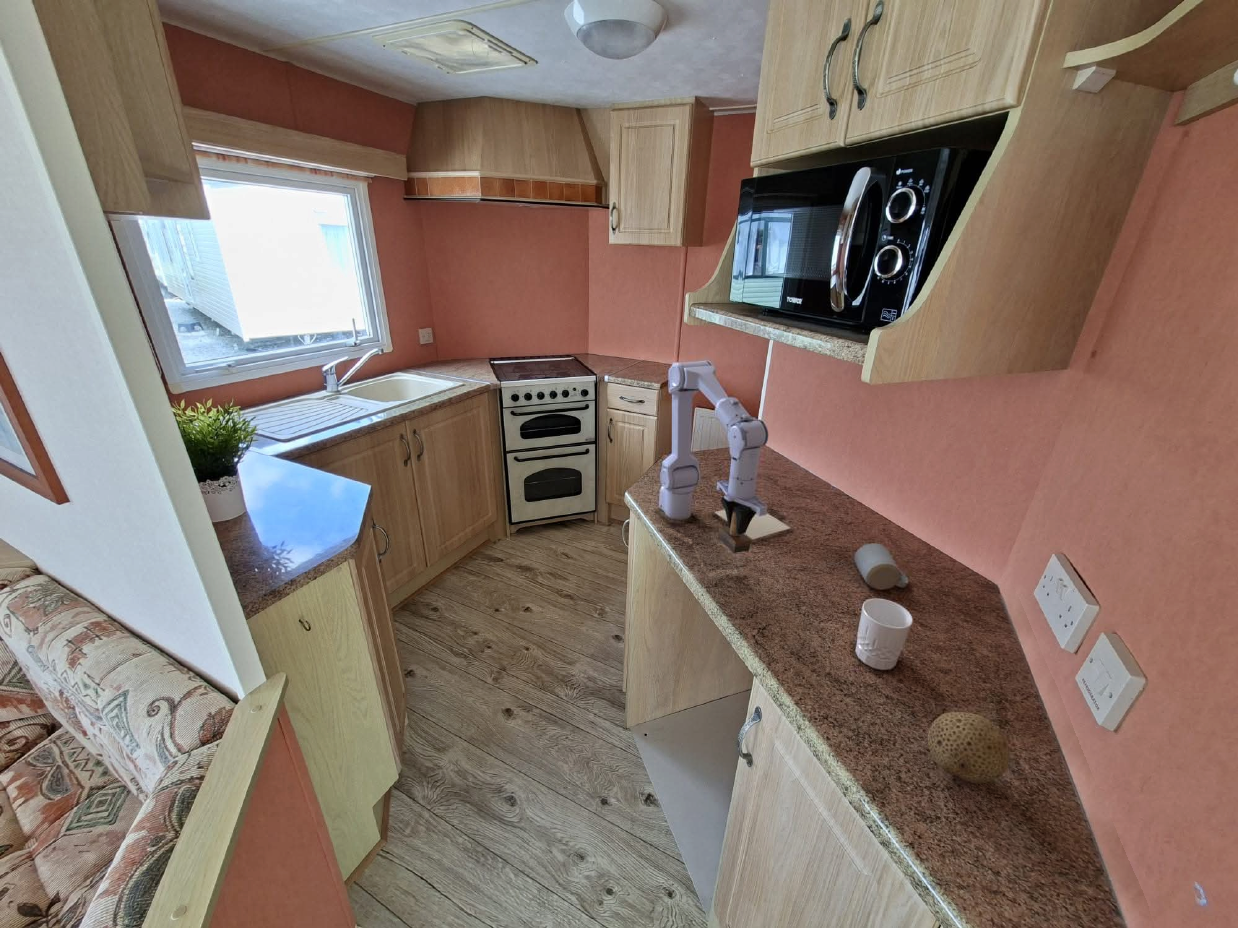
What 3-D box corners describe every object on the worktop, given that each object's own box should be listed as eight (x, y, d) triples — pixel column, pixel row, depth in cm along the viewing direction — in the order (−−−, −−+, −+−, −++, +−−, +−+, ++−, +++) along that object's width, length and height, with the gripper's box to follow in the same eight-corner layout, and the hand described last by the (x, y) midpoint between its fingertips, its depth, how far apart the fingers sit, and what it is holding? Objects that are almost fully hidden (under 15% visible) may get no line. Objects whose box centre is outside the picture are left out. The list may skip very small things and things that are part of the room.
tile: (714, 515, 138) (714, 512, 138) (750, 506, 144) (750, 502, 143) (752, 543, 125) (752, 539, 125) (790, 531, 130) (790, 527, 130)
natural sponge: (952, 809, 65) (974, 758, 61) (905, 748, 73) (922, 699, 69) (1011, 797, 66) (1036, 746, 63) (958, 739, 75) (978, 690, 71)
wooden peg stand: (717, 537, 114) (722, 505, 111) (732, 535, 116) (737, 503, 113) (733, 553, 108) (739, 519, 105) (749, 550, 110) (755, 517, 106)
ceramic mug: (863, 591, 107) (871, 561, 104) (850, 569, 115) (857, 541, 112) (913, 594, 107) (923, 565, 104) (897, 572, 114) (905, 544, 111)
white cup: (842, 646, 92) (852, 603, 88) (874, 636, 95) (885, 594, 91) (876, 678, 85) (889, 633, 81) (909, 665, 88) (923, 621, 84)
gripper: (707, 466, 110) (703, 519, 115) (751, 492, 98) (744, 550, 103) (732, 461, 113) (727, 513, 118) (778, 485, 101) (769, 542, 106)
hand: (736, 529), depth 111 cm, fingers closed on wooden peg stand, 2 cm apart
